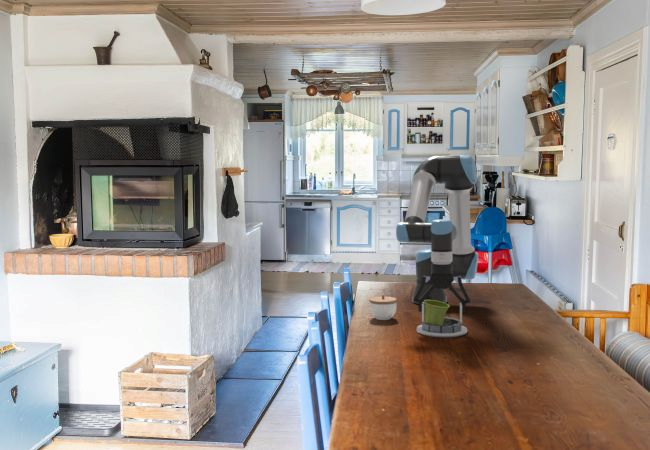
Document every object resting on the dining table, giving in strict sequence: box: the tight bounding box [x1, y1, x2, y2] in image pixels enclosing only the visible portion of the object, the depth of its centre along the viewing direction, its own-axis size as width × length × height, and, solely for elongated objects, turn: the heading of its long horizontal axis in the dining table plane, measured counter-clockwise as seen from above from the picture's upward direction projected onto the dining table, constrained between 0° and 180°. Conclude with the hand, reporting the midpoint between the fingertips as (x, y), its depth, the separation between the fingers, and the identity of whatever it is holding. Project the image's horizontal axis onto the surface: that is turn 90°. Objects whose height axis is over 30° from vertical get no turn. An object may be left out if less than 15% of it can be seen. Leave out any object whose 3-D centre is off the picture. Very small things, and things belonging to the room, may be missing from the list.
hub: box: [416, 316, 468, 338], centre depth 243 cm, size 18×18×4 cm
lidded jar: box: [368, 294, 398, 321], centre depth 265 cm, size 11×11×9 cm
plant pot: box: [424, 300, 451, 325], centre depth 243 cm, size 9×9×9 cm
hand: (442, 321), depth 243 cm, fingers open, 13 cm apart
